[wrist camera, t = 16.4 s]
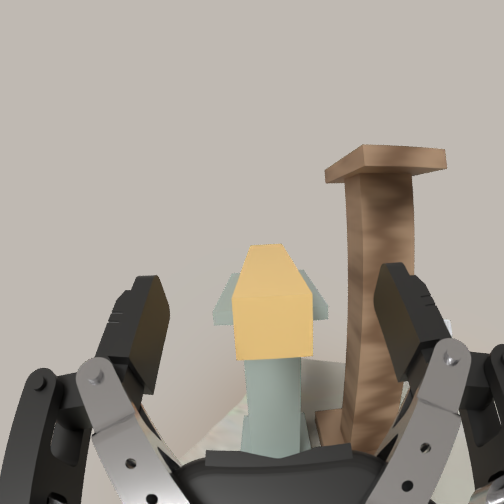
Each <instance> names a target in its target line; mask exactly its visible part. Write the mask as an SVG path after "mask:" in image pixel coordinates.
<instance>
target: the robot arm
mask: <svg viewBox="0 0 504 504" xmlns="http://www.w3.org/2000/svg"><path fill="white" fill-rule="evenodd" d="M430 295H431V294H430V293H429V291H428V289H427V287H426V285H425V284H424V283H423V282H422V281H421V280H420V279H419V278H418V277H417V276H416V275H409V273H408V271H407V269H406V267H405V265H404V264H403V263H402V262H395V263H383V264H382V265H381V267H380V271H379V275H378V279H377V284H376V288H375V292H374V298H373V301H374V309H375V312H376V315H377V318H378V321H379V324H380V327H381V330H382V333H383V336H384V339H385V342H386V345H387V348H388V351H389V354H390V358H391V361H392V364H393V367H394V371H395V374H396V378H397V381H398V383H399V382H404V381H408V382H409V385H410V388H409V390H408V392H407V394H406V396H405V398H404V401H403V403H402V405H401V407H400V409H399V411H398V414H397V416H396V418H395V420H394V422H393V424H392V426H391V428H390V430H389V432H388V433H387V435H386V437H385V438H384V440H383V441H382V443H381V444H380V446H379V447H378V449H377V451H376V453H375V454H374V455H372V454H369V453H366V452H362V451H357V450H352V448H351V443H344V444H337V445H330V446H321V447H315V448H312V449H309V450H306V451H303V452H300V453H297V454H293V455H290V456H287V457H284V458H272V457H267V456H262V455H257V454H252V453H248V452H243V451H212V450H206V457H205V458H201V459H197V460H194V461H192V462H189V463H187V464H185V465H183V466H182V465H181V464H180V462H179V461H178V459H177V458H176V457H175V455H174V454H173V453H172V451H171V450H170V449H169V448H168V446H167V445H166V443H165V442H164V441H163V439H162V437H161V436H160V434H159V432H158V431H157V429H156V427H155V426H154V424H153V422H152V421H151V419H150V417H149V416H148V414H147V413H146V410H145V409H144V407H143V405H142V404H141V401H142V396H143V394H149V395H153V394H154V389H155V384H156V379H157V374H158V369H159V364H160V360H161V355H162V351H163V346H164V342H165V337H166V333H167V328H168V324H169V320H170V309H169V304H168V301H167V299H166V296H165V293H164V290H163V287H162V284H161V282H160V279H159V277H158V276H157V275H154V276H138V277H136V279H135V282H134V284H133V287H132V289H131V290H125V291H124V293H123V294H122V295H121V296H120V297H119V298H118V299H117V300H116V303H115V305H114V308H113V310H112V314H111V315H110V318H109V320H108V321H109V323H107V325H106V328H105V331H104V333H103V336H102V339H101V341H100V344H99V347H98V350H97V352H96V355H95V357H94V358H91V359H89V360H87V361H85V362H84V363H83V364H82V365H81V366H80V368H79V369H78V371H77V372H76V373H71V374H67V375H61V376H56V375H55V374H54V373H53V372H52V371H51V370H50V369H48V368H40V369H37V370H35V371H34V372H33V373H31V374H30V376H29V377H28V379H27V381H26V383H25V386H24V389H23V392H22V395H21V398H20V401H19V404H18V407H17V411H16V414H15V417H14V421H13V424H12V428H11V431H10V435H9V439H8V443H7V447H6V451H5V456H4V460H3V465H2V470H1V475H0V504H81V497H82V489H83V480H84V473H85V467H86V460H87V454H88V448H89V442H90V436H91V431H92V428H93V429H94V432H95V433H94V434H93V435H92V442H93V444H94V447H95V449H96V451H97V453H98V456H99V458H100V460H101V462H102V464H103V466H104V468H105V471H106V472H107V474H108V477H109V478H110V481H111V482H112V484H113V486H114V488H115V490H116V492H117V494H118V496H119V497H120V499H121V501H122V503H123V504H436V503H435V502H434V501H432V500H431V499H430V498H431V496H432V494H433V492H434V490H435V488H436V486H437V483H438V481H439V479H440V477H441V474H442V472H443V470H444V467H445V465H446V462H447V460H448V457H449V455H450V452H451V450H452V447H453V444H454V441H455V439H456V436H457V433H458V430H459V427H460V423H461V420H462V424H463V428H464V432H465V437H466V441H467V446H468V451H469V456H470V461H471V466H472V472H473V478H474V485H475V492H474V493H473V495H472V496H471V498H470V501H469V503H468V504H504V344H500V345H497V346H496V347H495V348H494V349H493V350H492V352H491V353H490V354H486V353H476V352H470V351H469V350H468V348H467V347H466V345H464V344H463V343H462V342H461V341H459V340H456V339H453V338H452V337H451V335H450V333H449V331H448V328H447V326H446V324H445V322H444V320H443V318H442V316H441V314H440V312H439V310H438V308H437V306H435V303H434V300H433V298H432V297H431V296H430ZM494 401H495V404H496V407H497V410H498V414H499V417H500V421H501V424H500V421H499V417H498V414H497V410H496V407H495V404H494ZM458 409H459V412H460V415H459V414H458ZM55 423H56V424H55ZM54 427H55V428H54ZM53 431H54V433H53ZM52 436H53V437H52ZM51 440H52V442H51Z"/></svg>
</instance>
